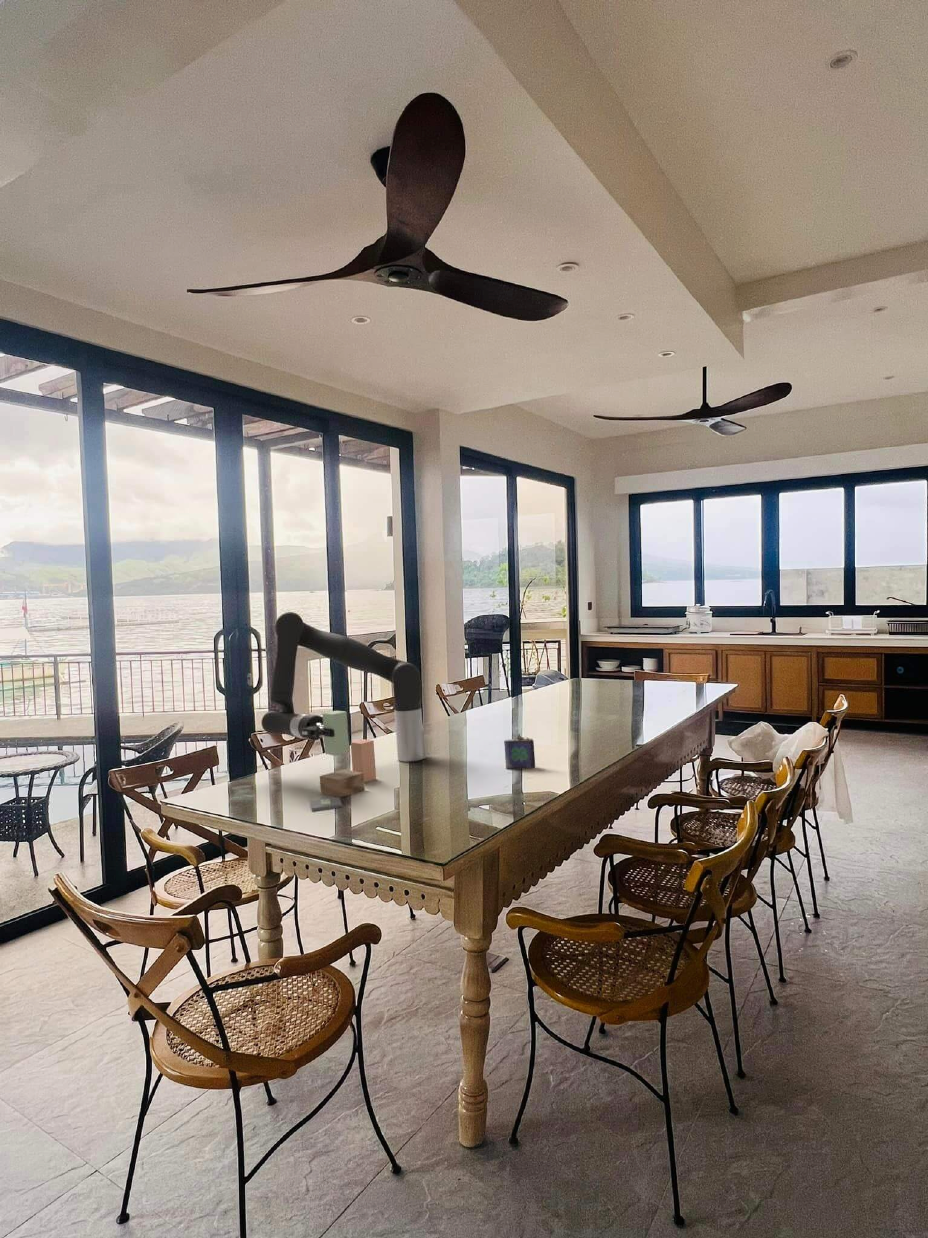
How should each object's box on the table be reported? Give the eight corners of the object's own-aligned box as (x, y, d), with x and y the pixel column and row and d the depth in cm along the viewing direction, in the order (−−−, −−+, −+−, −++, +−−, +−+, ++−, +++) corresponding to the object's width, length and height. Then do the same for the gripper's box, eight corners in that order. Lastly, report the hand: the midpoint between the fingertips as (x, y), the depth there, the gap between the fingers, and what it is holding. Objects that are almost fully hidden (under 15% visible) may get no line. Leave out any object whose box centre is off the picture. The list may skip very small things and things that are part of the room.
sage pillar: (339, 750, 213) (336, 710, 212) (349, 752, 209) (346, 711, 209) (325, 753, 209) (322, 713, 209) (335, 755, 206) (332, 714, 205)
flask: (505, 769, 222) (503, 735, 222) (506, 767, 225) (504, 733, 224) (535, 769, 220) (533, 734, 220) (535, 766, 223) (533, 732, 223)
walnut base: (345, 785, 215) (344, 769, 215) (364, 789, 209) (363, 772, 209) (320, 793, 209) (319, 776, 209) (339, 797, 203) (338, 780, 202)
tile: (338, 799, 201) (338, 796, 201) (342, 807, 193) (341, 803, 193) (309, 803, 199) (309, 800, 198) (312, 811, 191) (311, 807, 191)
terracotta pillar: (366, 777, 224) (363, 739, 224) (376, 779, 221) (373, 740, 221) (353, 780, 221) (350, 742, 220) (363, 783, 217) (360, 743, 217)
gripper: (286, 718, 214) (320, 723, 202) (326, 710, 224) (360, 714, 212) (288, 743, 214) (321, 749, 202) (327, 734, 224) (361, 739, 213)
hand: (341, 731), depth 207 cm, fingers closed on sage pillar, 5 cm apart
